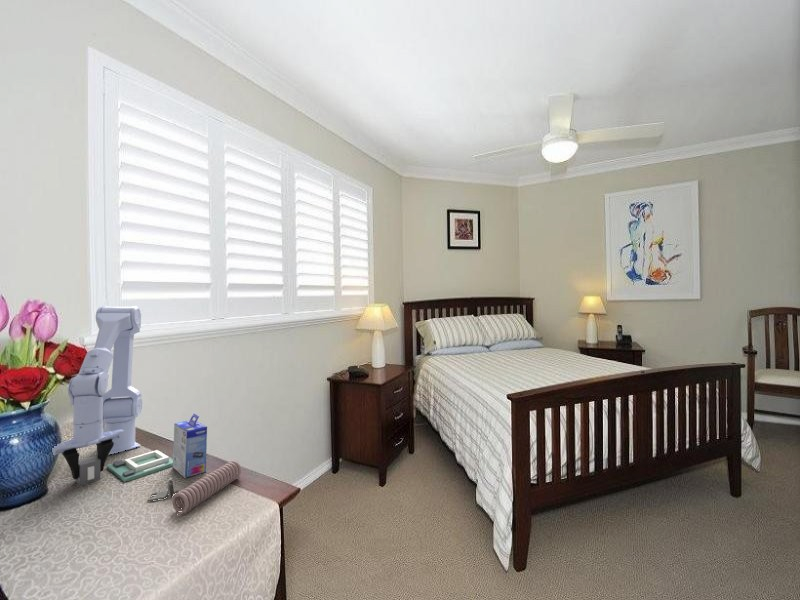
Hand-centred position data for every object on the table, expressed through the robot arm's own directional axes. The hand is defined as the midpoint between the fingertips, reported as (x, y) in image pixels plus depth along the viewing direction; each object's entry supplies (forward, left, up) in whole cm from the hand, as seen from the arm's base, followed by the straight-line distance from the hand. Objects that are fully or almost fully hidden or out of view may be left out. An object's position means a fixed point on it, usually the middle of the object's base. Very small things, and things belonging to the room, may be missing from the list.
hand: (87, 474), depth 92 cm
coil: (+32, +15, -2) cm, 35 cm away
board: (+2, +11, -1) cm, 11 cm away
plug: (0, 0, -2) cm, 2 cm away
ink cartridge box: (+15, +18, -2) cm, 23 cm away
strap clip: (+25, +9, -2) cm, 27 cm away
